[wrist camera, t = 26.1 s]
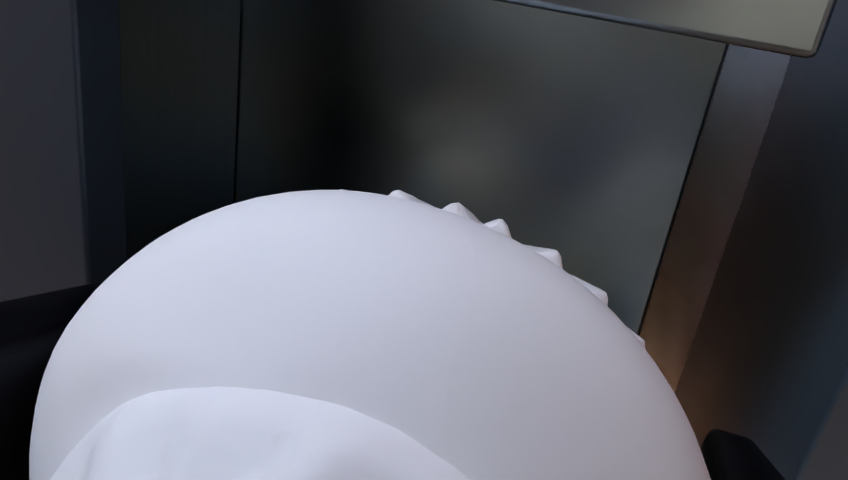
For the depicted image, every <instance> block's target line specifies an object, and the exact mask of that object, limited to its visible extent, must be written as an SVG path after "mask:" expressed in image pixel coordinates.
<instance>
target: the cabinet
mask: <svg viewBox="0 0 848 480" xmlns="http://www.w3.org/2000/svg"><path fill="white" fill-rule="evenodd" d="M125 262H126V225H125V190H124V155H123V120H122V85H121V50H120V15H119V0H0V302H2V301H7V300H12V299H17V298H22V297H27V296H32V295H37V294H42V293H47V292H52V291H57V290H62V289H67V288H72V287H77V286H82V285H87V284H91V283H96V282H101V281H105V280H106V279H107V278H108V277H109V276H110V275H111V274H112V273H114V272H115V271H116V270H117V269H118V268H119V267H120V266H121V265H123V264H124V263H125Z"/></svg>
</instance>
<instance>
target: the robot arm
mask: <svg viewBox="0 0 848 480" xmlns="http://www.w3.org/2000/svg"><path fill="white" fill-rule="evenodd" d="M103 282H104V281H101V282H96V283H91V284H87V285H82V286H77V287H72V288H67V289H62V290H57V291H52V292H47V293H42V294H37V295H32V296H27V297H22V298H17V299H12V300H7V301H2V302H0V480H29V452H30V440H31V432H32V425H33V418H34V411H35V405H36V401H37V397H38V392H39V388H40V385H41V381H42V378H43V375H44V372H45V369H46V367H47V364H48V362H49V359H50V357H51V355H52V352H53V350H54V348H55V346H56V344H57V342H58V340H59V339H60V337H61V335H62V333H63V332H64V330H65V328H66V326H67V325H68V324H69V322H70V321H71V320H72V318H73V317H74V315H75V314H76V313H77V312H78V310H79V309H80V308H81V306H82V305H83V304H84V303H85V301H86V300H87V299H88V298H89V297H90V296H91V295H92V293H93V292H94V291H95V290H96V289H97V288H98V287H99V286H100V285H101V284H102V283H103ZM701 452H702V455H703V458H704V461H705V464H706V467H707V470H708V472H709V475H710V478H711V480H785V479H784V477H783V476H782V475H781V474H780V473H779V471H778V470H777V469H776V468H775V467H774V465H773V464H772V463H771V462H770V461H769V459H768V458H767V457H766V456H765V455H764V454H763V452H762V451H761V450H760V449H759V448H758V446H757V445H756V444H755V443H754V442H753V441H752V440H751V439H749V438H747V437H744V436H741V435H737V434H734V433H730V432H727V431H723V430H720V429H711V430H710V431H709V432H708V433H707V435H706V436H705V438H704V441H703V443H702V446H701Z"/></svg>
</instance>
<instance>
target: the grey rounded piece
mask: <svg viewBox="0 0 848 480" xmlns="http://www.w3.org/2000/svg"><path fill="white" fill-rule="evenodd" d="M607 305H608V297H607V293H606V292H605V291H603V290H601V289H600V288H597V287H595V286H593V285H591V284H589V283H587V282H585V281H583V280H581V279H579V278H577V277H575V276H573V275H570V274H568V273H567V272H566V271H564V270H563V267H562V258H561V255H560V254H559V252H558V251H557V250H554V249H549V248H542V247H534V246H531V245H523V244H521V243H519V242H517V241H516V240H514V239H512V237H511V234H510V231H509V228H508V226H507V224H506V223H505V222H504V220H503V219H496V220H493V221H490V222H488V223H485V224H483V223H482V222H481V221H479V220H478V219H477V218H476V217H475V215H474V214H473V213H472V212H470V211H469V210H468V209H467V208H465V207H464V206H463V205H461V204H460V203H459V202H458V203H451V204H449V205H448V206H446V207H444V208H443V209H439V208H436V207H433V206H431V205H430V204H428V203H426V202H423V201H421V200H419V199H417V198H416V197H414V196H412V195H410V194H407V193H405V192H403V191H400V190H395V191H392V192H391V193H390V194H389V195H388V196H387V195H382V194H376V193H369V192H361V191H348V190H343V189H340V190H309V191H294V192H286V193H280V194H273V195H267V196H261V197H256V198H252V199H249V200H245V201H242V202H238V203H234V204H231V205H228V206H225V207H222V208H219V209H217V210H214V211H211V212H209V213H206V214H204V215H201V216H199V217H197V218H194V219H192V220H190V221H188V222H186V223H184V224H182V225H180V226H178V227H176V228H175V229H173V230H171V231H169V232H168V233H166V234H164V235H162V236H161V237H159V238H157V239H156V240H154V241H153V242H151V243H150V244H148V245H147V246H145V247H144V248H143V249H142V250H140V251H139V252H138V253H136V254H135V255H134V256H132V257H131V258H130V259H129V260H127V261H126V262H125V263H124V264H123V265H121V266H120V267H119V268H118V269H117V270H116V271H115V272H114V273H112V274H111V275H110V276H109V277H108V278H107V279H106V280H105V281H104V282H103V283H102V284H101V285H100V286H99V287H98V288H97V289H96V290H95V291H94V292H93V293H92V295H91V296H90V297H89V298H88V299H87V300H86V301H85V303H84V304H83V305H82V306H81V308H80V309H79V310H78V312H77V313H76V314H75V315H74V317H73V318H72V320H71V321H70V322H69V324H68V325H67V326H66V328H65V330H64V332H63V333H62V335H61V337H60V339H59V340H58V342H57V344H56V346H55V348H54V350H53V352H52V355H51V357H50V359H49V362H48V364H47V367H46V369H45V372H44V375H43V378H42V381H41V385H40V388H39V392H38V397H37V401H36V405H35V411H34V418H33V425H32V432H31V440H30V452H29V480H711V478H710V475H709V472H708V470H707V467H706V464H705V461H704V458H703V455H702V452H701V449H700V447H699V444H698V441H697V439H696V436H695V433H694V431H693V429H692V427H691V425H690V422H689V420H688V418H687V416H686V414H685V412H684V410H683V408H682V406H681V404H680V402H679V401H678V399H677V397H676V395H675V393H674V391H673V390H672V388H671V386H670V385H669V383H668V382H667V380H666V378H665V377H664V375H663V374H662V372H661V371H660V369H659V368H658V366H657V364H656V363H655V362H654V360H653V359H652V358H651V356H650V355H649V354H648V352H647V351H646V350H645V349H646V347H645V341H644V340H643V339H642V338H641V337H639V336H638V335H637V334H636V333H634V332H633V331H632V330H631V329H629V328H628V327H626V326H625V324H624V323H623V322H622V321H621V320H620V319H619V318H618V317H617V315H616V314H615V313H614V312H613V311H612V310H611V309H610V308H609V307H608V306H607Z"/></svg>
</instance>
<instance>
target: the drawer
mask: <svg viewBox="0 0 848 480" xmlns="http://www.w3.org/2000/svg"><path fill="white" fill-rule="evenodd" d="M119 15H120V50H121V85H122V120H123V155H124V190H125V225H126V261H127V260H129V259H130V258H131V257H132V256H134V255H135V254H136V253H138V252H139V251H140V250H142V249H143V248H144V247H145V246H147V245H148V244H150V243H151V242H153V241H154V240H156V239H157V238H159V237H161V236H162V235H164V234H166V233H168V232H169V231H171V230H173V229H175V228H176V227H178V226H180V225H182V224H184V223H186V222H188V221H190V220H192V219H194V218H197V217H199V216H201V215H204V214H206V213H209V212H211V211H214V210H217V209H219V208H222V207H225V206H228V205H231V204H234V203H238V202H242V201H245V200H249V199H252V198H256V197H261V196H267V195H273V194H280V193H286V192H294V191H309V190H340V189H343V190H348V191H361V192H369V193H376V194H382V195H387V196H388V195H389V194H390V193H391V192H392V191H395V190H400V191H403V192H405V193H407V194H410V195H412V196H414V197H416V198H417V199H419V200H421V201H423V202H426V203H428V204H430V205H431V206H433V207H436V208H439V209H443V208H444V207H446V206H448V205H449V204H451V203H458V202H459V203H460V204H461V205H463V206H464V207H465V208H467V209H468V210H469V211H470V212H472V213H473V214H474V215H475V217H476V218H477V219H478V220H479V221H481V222H482V223H483V224H485V223H488V222H490V221H493V220H496V219H503V220H504V222H505V223H506V224H507V226H508V228H509V231H510V234H511V237H512V239H514V240H516V241H517V242H519V243H521V244H523V245H531V246H534V247H542V248H549V249H554V250H557V251H558V252H559V254H560V255H561V258H562V267H563V270H564V271H566V272H567V273H568V274H570V275H573V276H575V277H577V278H579V279H581V280H583V281H585V282H587V283H589V284H591V285H593V286H595V287H597V288H600V289H601V290H603V291H605V292H606V293H607V297H608V305H607V306H608V307H609V308H610V309H611V310H612V311H613V312H614V313H615V314H616V315H617V317H618V318H619V319H620V320H621V321H622V322H623V323H624V324H625V326H626V327H628V328H629V329H631V330H632V331H633V332H634V333H636V334H637V335H638V336H639V335H640V332H641V328H642V325H643V322H644V319H645V315H646V312H647V309H648V306H649V303H650V299H651V296H652V293H653V290H654V286H655V283H656V280H657V277H658V273H659V270H660V267H661V264H662V261H663V257H664V254H665V251H666V248H667V244H668V241H669V238H670V235H671V231H672V228H673V225H674V222H675V219H676V215H677V212H678V209H679V206H680V202H681V199H682V196H683V193H684V189H685V186H686V183H687V180H688V177H689V173H690V170H691V167H692V164H693V160H694V157H695V154H696V151H697V147H698V144H699V141H700V138H701V135H702V131H703V128H704V125H705V122H706V118H707V115H708V112H709V109H710V105H711V102H712V99H713V96H714V93H715V89H716V86H717V83H718V80H719V76H720V73H721V70H722V67H723V63H724V60H725V57H726V54H727V51H728V47H729V44H732V45H737V46H743V47H748V48H753V49H759V50H764V51H769V52H775V53H780V54H786V55H791V59H790V62H789V65H788V67H787V70H786V73H785V76H784V79H783V82H782V85H781V88H780V91H779V93H778V96H777V99H776V102H775V105H774V108H773V111H772V114H771V117H770V119H769V122H768V125H767V128H766V131H765V134H764V137H763V140H762V143H761V145H760V148H759V151H758V154H757V157H756V160H755V163H754V166H753V169H752V171H751V174H750V177H749V180H748V183H747V186H746V189H745V192H744V195H743V197H742V200H741V203H740V206H739V209H738V212H737V215H736V218H735V221H734V223H733V226H732V229H731V232H730V235H729V238H728V241H727V244H726V247H725V249H724V252H723V255H722V258H721V261H720V264H719V267H718V270H717V272H716V275H715V278H714V281H713V284H712V287H711V290H710V293H709V296H708V298H707V301H706V304H705V307H704V310H703V313H702V316H701V319H700V322H699V324H698V327H697V330H696V333H695V336H694V339H693V342H692V345H691V348H690V350H689V353H688V356H687V359H686V362H685V365H684V368H683V371H682V374H681V376H680V379H679V382H678V385H677V388H676V391H675V395H676V397H677V399H678V401H679V402H680V404H681V406H682V408H683V410H684V412H685V414H686V416H687V418H688V420H689V422H690V425H691V427H692V429H693V431H694V433H695V436H696V439H697V441H698V444H699V447H700V449H701V446H702V443H703V441H704V438H705V436H706V435H707V433H708V432H709V431H710V430H711V429H720V430H723V431H727V432H730V433H734V434H737V435H741V436H744V437H747V438H749V439H751V440H752V441H753V442H754V443H755V444H756V445H757V446H758V448H759V449H760V450H761V451H762V452H763V454H764V455H765V456H766V457H767V458H768V459H769V461H770V462H771V463H772V464H773V465H774V467H775V468H776V469H777V470H778V471H779V473H780V474H781V475H782V476H783V477H784V479H785V480H848V0H119Z"/></svg>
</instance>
